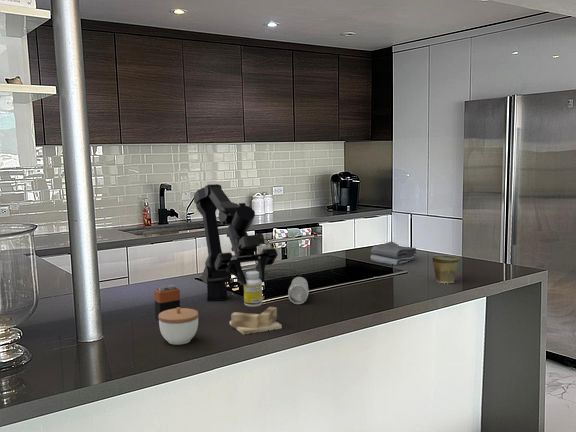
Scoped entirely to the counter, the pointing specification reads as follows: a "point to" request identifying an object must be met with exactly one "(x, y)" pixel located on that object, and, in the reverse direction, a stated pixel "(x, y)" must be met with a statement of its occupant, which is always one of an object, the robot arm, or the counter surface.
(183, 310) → the lidded jar
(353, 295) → the counter surface
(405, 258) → the towel
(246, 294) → the supplement bottle
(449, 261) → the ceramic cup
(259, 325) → the v block
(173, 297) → the battery
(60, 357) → the counter surface
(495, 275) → the counter surface
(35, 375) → the counter surface
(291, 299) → the beer glass
